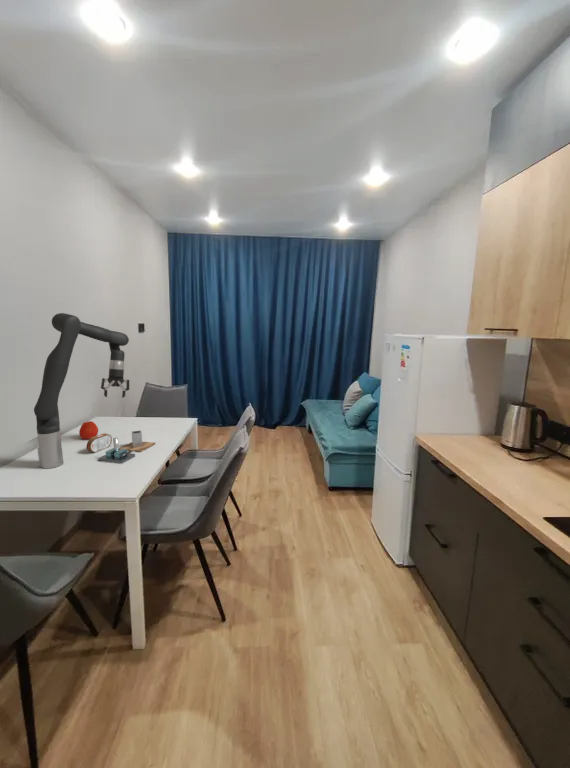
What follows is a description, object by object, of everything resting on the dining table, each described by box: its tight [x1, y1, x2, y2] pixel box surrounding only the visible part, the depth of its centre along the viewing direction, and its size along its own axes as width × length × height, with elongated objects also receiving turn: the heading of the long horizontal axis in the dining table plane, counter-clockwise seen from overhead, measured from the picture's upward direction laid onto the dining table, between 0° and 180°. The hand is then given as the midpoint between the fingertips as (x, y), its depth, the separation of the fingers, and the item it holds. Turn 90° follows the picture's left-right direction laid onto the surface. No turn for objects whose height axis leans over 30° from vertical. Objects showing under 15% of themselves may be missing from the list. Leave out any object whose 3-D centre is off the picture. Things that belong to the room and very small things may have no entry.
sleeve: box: [131, 429, 143, 448], centre depth 197 cm, size 5×5×8 cm
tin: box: [86, 432, 113, 453], centre depth 193 cm, size 15×3×8 cm, turn 160°
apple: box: [78, 420, 99, 440], centre depth 213 cm, size 10×10×10 cm
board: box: [119, 441, 156, 453], centre depth 198 cm, size 14×14×1 cm
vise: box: [97, 437, 136, 464], centre depth 180 cm, size 14×10×11 cm
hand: (114, 397), depth 195 cm, fingers open, 8 cm apart
